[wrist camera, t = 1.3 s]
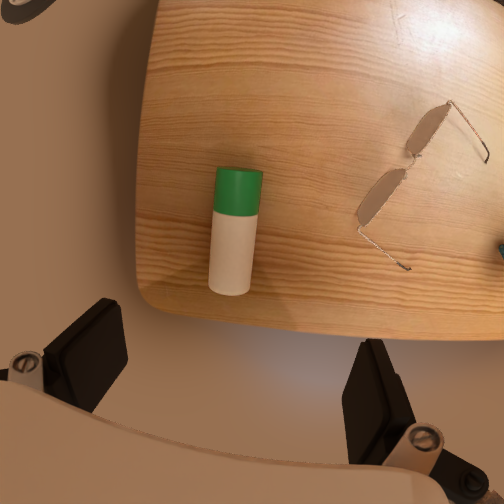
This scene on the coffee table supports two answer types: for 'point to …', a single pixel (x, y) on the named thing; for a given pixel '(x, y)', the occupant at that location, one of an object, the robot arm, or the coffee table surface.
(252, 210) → the marker
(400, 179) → the eyeglasses
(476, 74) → the coffee table surface
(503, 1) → the tray
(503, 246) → the ornament
